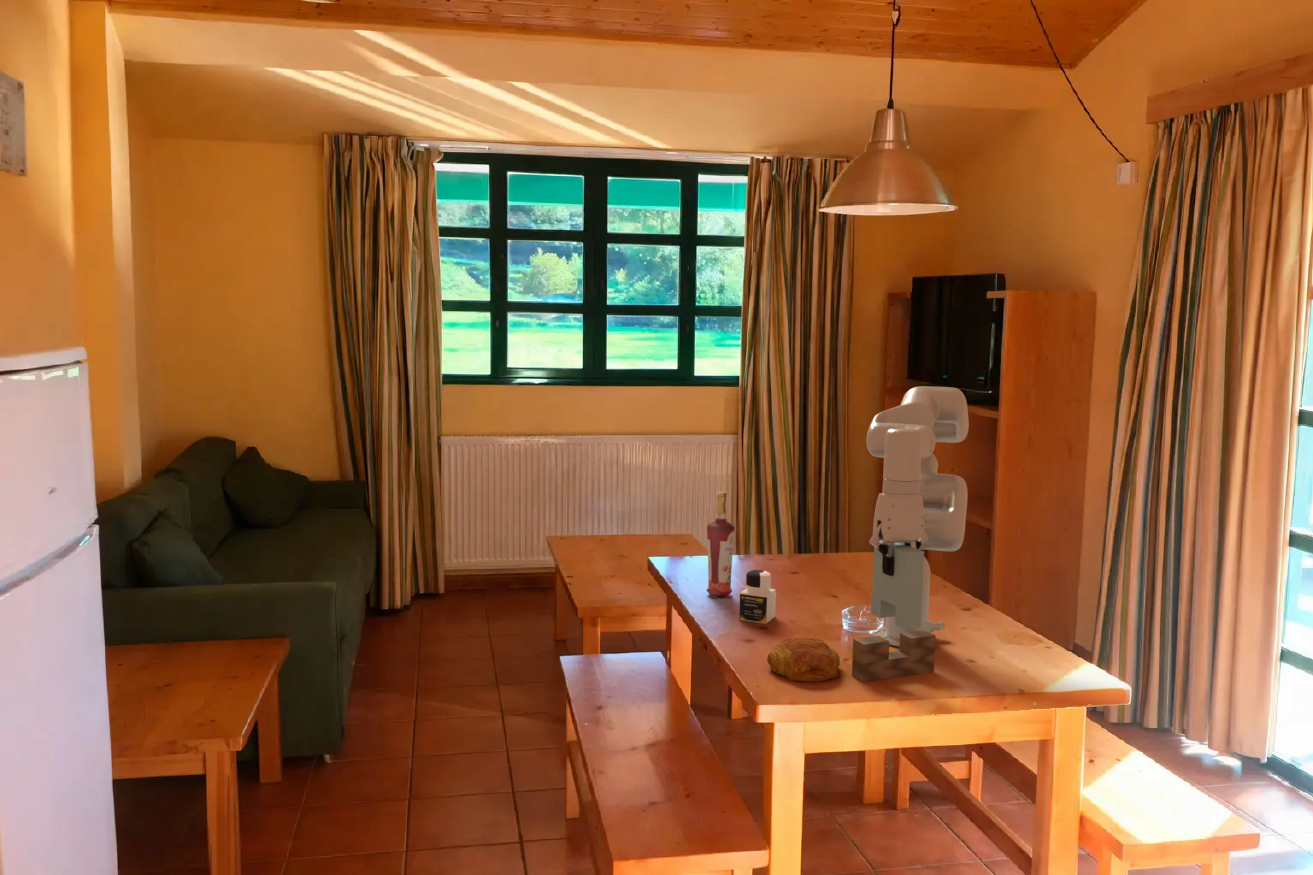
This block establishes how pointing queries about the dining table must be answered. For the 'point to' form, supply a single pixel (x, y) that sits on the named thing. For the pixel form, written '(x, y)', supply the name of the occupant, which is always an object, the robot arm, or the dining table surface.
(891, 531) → the robot arm
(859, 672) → the mottled brown block
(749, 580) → the medicine bottle
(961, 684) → the dining table surface
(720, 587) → the liquor
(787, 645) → the croissant
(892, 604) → the plain rectangular block
